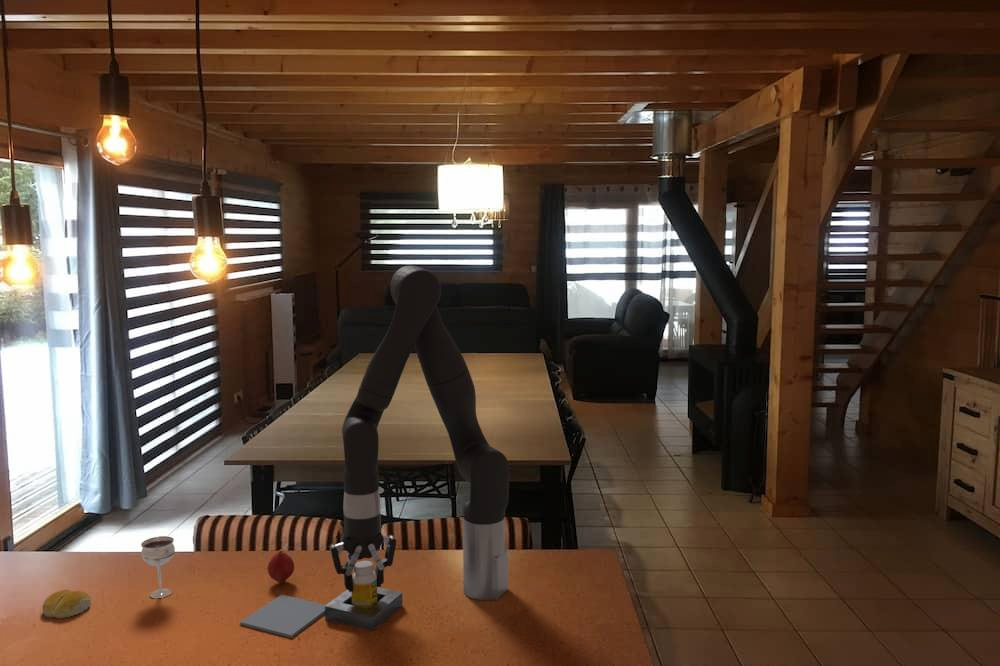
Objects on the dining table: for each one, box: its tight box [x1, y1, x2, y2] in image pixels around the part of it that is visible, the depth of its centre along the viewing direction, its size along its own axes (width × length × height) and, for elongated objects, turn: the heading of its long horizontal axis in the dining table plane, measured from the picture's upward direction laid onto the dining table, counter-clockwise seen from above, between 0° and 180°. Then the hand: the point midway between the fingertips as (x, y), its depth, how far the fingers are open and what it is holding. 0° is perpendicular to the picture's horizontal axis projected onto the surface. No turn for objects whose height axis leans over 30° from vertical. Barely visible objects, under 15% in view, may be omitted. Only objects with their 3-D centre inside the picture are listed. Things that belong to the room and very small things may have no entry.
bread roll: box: [42, 589, 92, 619], centre depth 166 cm, size 8×9×4 cm
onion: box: [267, 549, 295, 584], centre depth 178 cm, size 6×6×8 cm
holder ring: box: [324, 587, 403, 632], centre depth 165 cm, size 12×12×3 cm
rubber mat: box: [239, 594, 326, 639], centre depth 163 cm, size 13×13×1 cm
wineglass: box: [140, 535, 176, 599], centre depth 172 cm, size 7×7×12 cm
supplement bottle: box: [352, 560, 378, 609], centre depth 164 cm, size 5×5×10 cm
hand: (364, 587), depth 164 cm, fingers closed on supplement bottle, 5 cm apart
